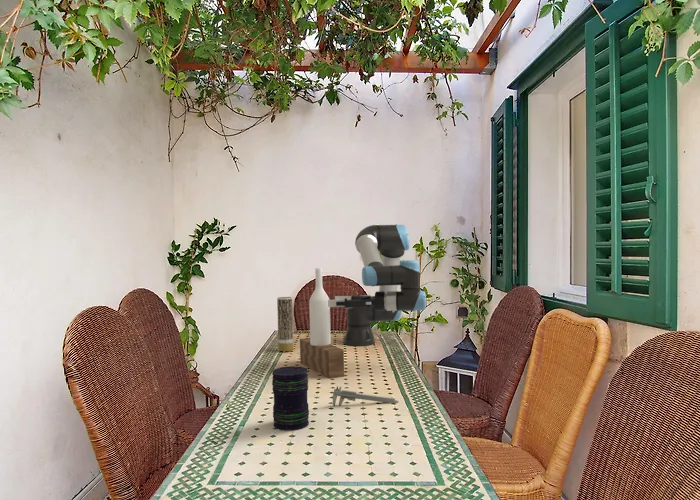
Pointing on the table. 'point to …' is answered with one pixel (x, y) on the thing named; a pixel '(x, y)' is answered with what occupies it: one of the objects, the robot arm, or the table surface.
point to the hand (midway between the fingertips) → (331, 301)
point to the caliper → (358, 397)
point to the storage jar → (290, 398)
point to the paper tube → (285, 323)
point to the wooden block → (322, 358)
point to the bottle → (319, 314)
